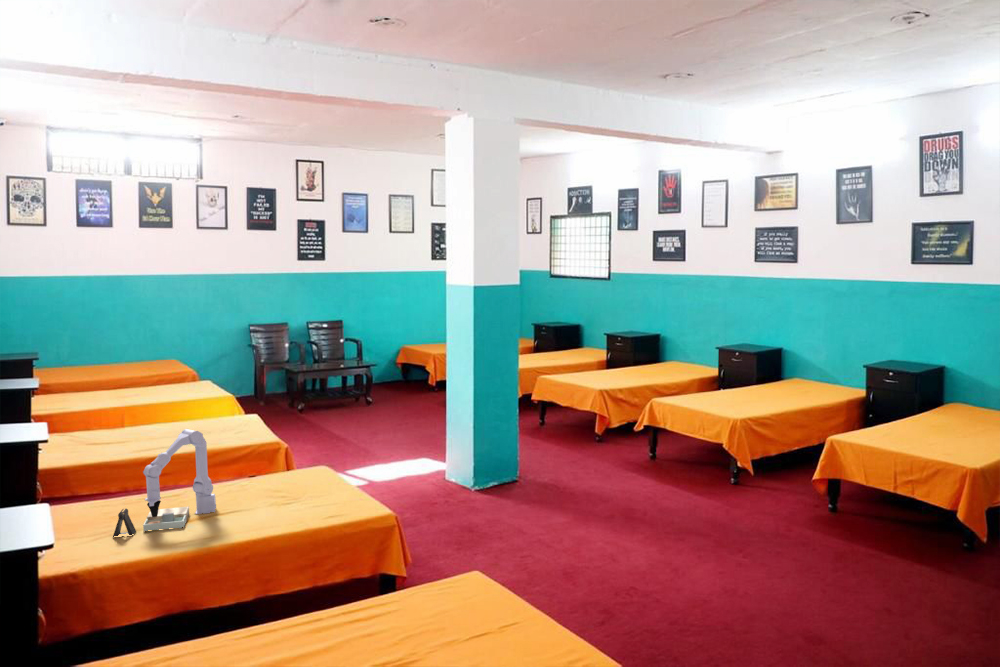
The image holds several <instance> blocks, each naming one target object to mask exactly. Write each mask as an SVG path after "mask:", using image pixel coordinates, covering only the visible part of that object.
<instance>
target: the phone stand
mask: <svg viewBox="0 0 1000 667" xmlns="http://www.w3.org/2000/svg"><path fill="white" fill-rule="evenodd" d="M117 516H118V518H117V519H118V520H117V523H116V526H115V530H114V533H113V535H112V538H113V537H114V536H118V535H119V534H126V533H128V534H129V535H132V534H134V533H135V532H136V533H137V530H136V528H135V526H134V523H133V521H132V519H131V517H130V515H129V509H127V508H123V509H121V510H120V512H119V513H118V515H117ZM123 522H124V525H125V528H126V530H127V531H126V532H125V531H124V532H123V531H122V526H123ZM121 531H122V532H121ZM136 533H135V534H136ZM135 534H134V535H135Z"/></svg>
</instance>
